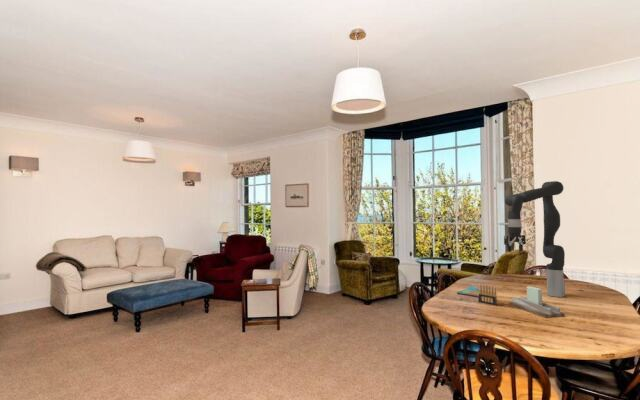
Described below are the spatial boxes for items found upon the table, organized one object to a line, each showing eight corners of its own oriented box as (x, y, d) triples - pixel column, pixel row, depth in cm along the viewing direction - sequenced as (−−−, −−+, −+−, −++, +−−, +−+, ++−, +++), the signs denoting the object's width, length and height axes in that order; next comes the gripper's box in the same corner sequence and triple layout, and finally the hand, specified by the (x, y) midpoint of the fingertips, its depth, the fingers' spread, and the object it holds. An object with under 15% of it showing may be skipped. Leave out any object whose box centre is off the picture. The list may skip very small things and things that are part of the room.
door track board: (526, 303, 213) (525, 295, 213) (564, 316, 187) (564, 307, 187) (509, 304, 210) (508, 297, 210) (545, 317, 185) (545, 309, 185)
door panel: (531, 305, 203) (530, 286, 203) (542, 309, 195) (541, 289, 196) (527, 305, 203) (526, 286, 203) (538, 309, 195) (538, 289, 195)
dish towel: (495, 292, 242) (495, 289, 242) (482, 299, 226) (481, 295, 226) (470, 289, 255) (470, 285, 255) (456, 294, 238) (455, 291, 238)
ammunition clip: (497, 305, 210) (496, 284, 211) (496, 305, 209) (495, 285, 209) (479, 301, 218) (479, 282, 219) (478, 302, 217) (477, 282, 218)
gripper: (509, 226, 220) (510, 252, 220) (528, 226, 223) (529, 251, 223) (500, 226, 227) (501, 251, 227) (519, 225, 230) (520, 250, 230)
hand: (515, 251), depth 225 cm, fingers open, 8 cm apart
